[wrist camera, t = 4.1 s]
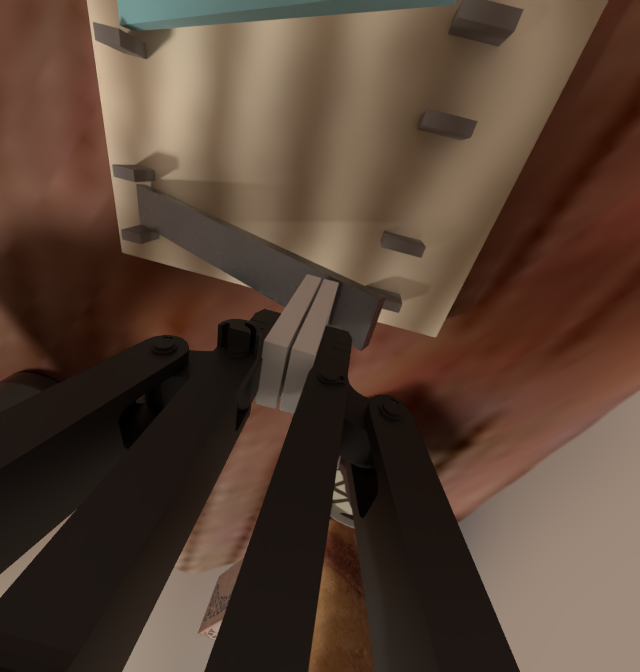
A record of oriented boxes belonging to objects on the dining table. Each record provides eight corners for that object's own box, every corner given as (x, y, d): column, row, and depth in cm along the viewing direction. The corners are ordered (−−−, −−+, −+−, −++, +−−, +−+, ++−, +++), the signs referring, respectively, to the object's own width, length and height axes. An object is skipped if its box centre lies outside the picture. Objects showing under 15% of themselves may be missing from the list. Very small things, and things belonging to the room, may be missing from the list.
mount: (143, 245, 30) (101, 259, 25) (109, -103, 18) (20, -196, 14) (430, 322, 29) (441, 351, 24) (579, 13, 18) (653, -41, 13)
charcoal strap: (149, 223, 25) (140, 223, 24) (146, 184, 23) (136, 183, 23) (368, 345, 16) (361, 350, 15) (386, 296, 14) (379, 299, 14)
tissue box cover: (266, 539, 57) (247, 604, 49) (327, 568, 59) (319, 636, 51) (219, 576, 70) (197, 633, 61) (270, 599, 72) (257, 657, 64)
